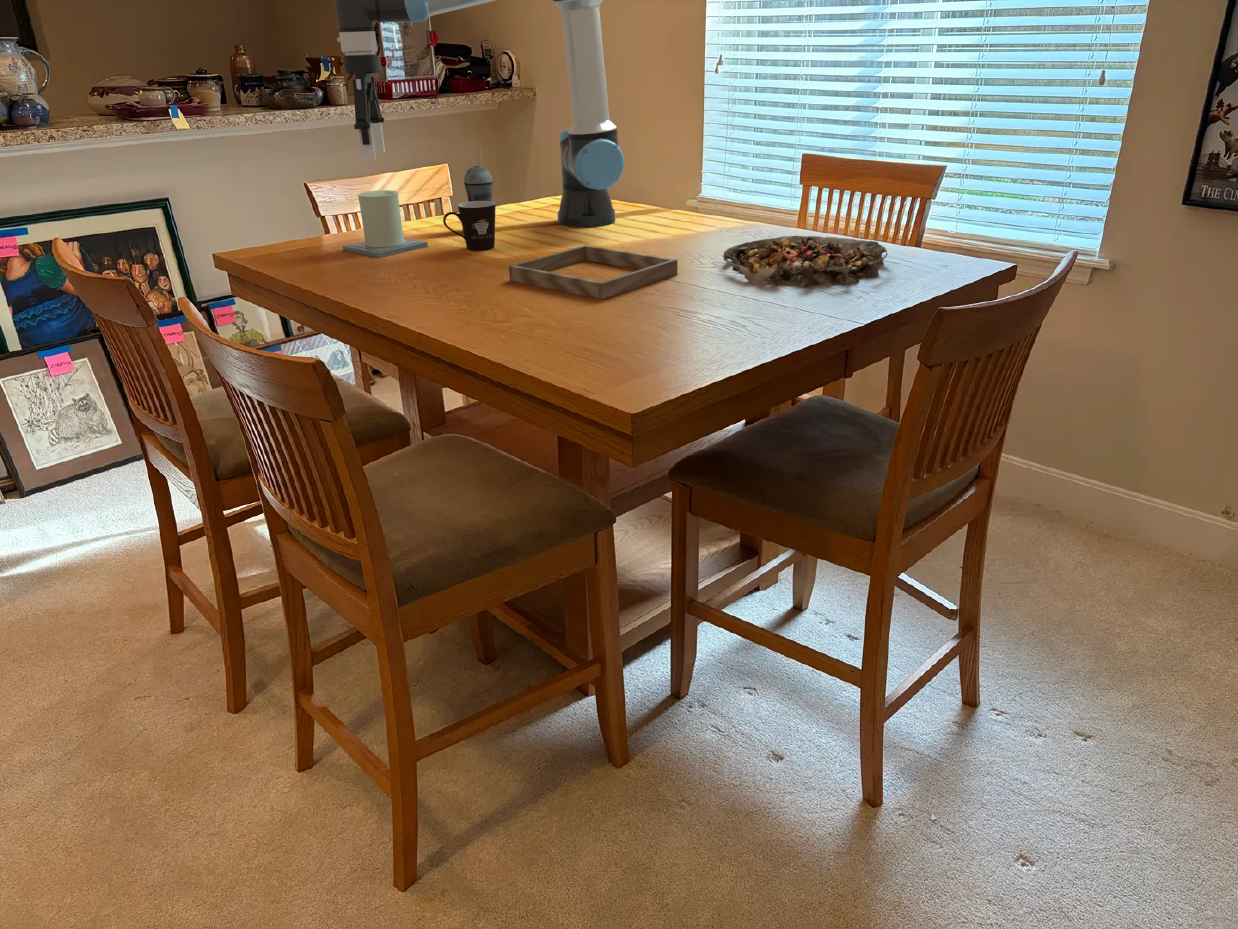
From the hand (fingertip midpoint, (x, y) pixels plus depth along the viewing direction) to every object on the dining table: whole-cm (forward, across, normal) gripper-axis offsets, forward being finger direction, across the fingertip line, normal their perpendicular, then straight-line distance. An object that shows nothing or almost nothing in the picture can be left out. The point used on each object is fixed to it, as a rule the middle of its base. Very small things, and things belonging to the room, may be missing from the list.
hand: (374, 156), depth 204 cm
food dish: (+22, +38, +91) cm, 101 cm away
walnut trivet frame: (+21, +38, +47) cm, 64 cm away
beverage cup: (+21, -17, +22) cm, 35 cm away
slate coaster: (+21, 0, 0) cm, 21 cm away
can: (+20, 0, 0) cm, 20 cm away
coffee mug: (+21, +5, +21) cm, 30 cm away
